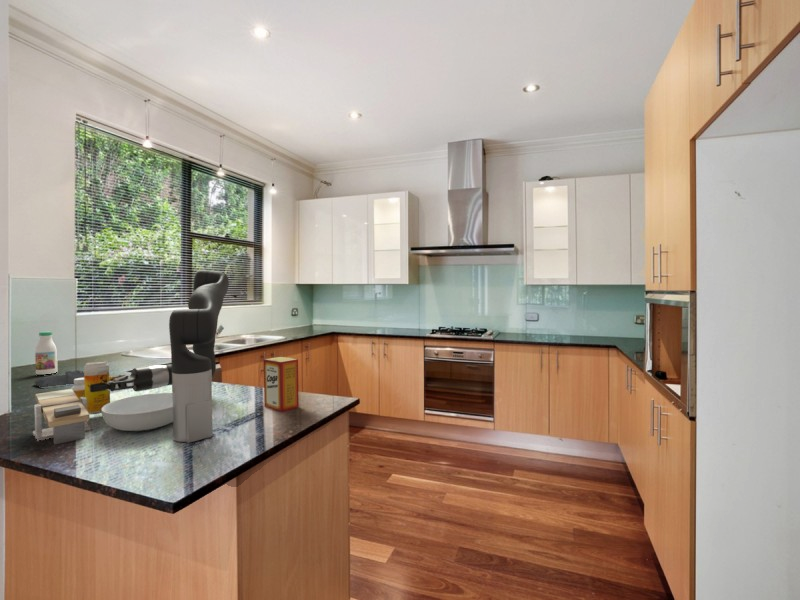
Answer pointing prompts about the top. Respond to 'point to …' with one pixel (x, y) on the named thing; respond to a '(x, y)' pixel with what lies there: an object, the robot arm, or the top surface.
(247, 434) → the top surface
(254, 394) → the top surface
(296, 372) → the baking soda box
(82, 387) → the supplement bottle
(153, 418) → the serving bowl
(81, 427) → the stand
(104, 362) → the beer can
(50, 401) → the seesaw
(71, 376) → the dark slate chunk
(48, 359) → the milk bottle
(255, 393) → the top surface
